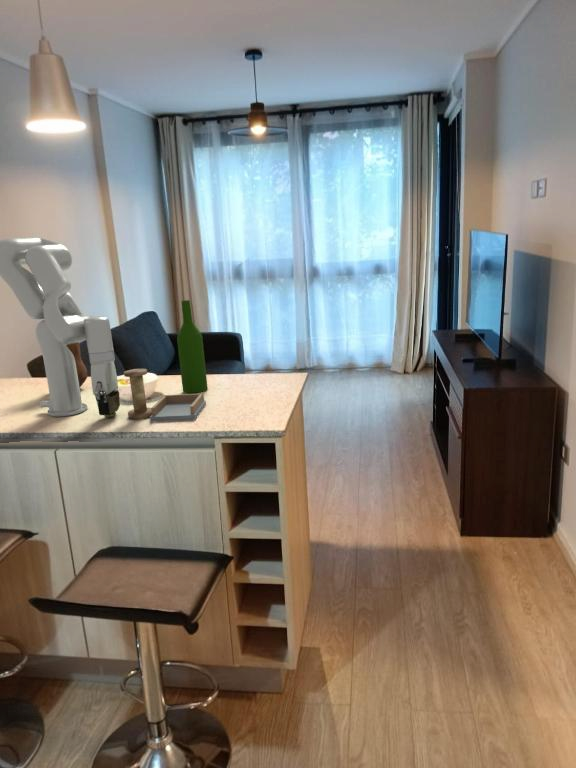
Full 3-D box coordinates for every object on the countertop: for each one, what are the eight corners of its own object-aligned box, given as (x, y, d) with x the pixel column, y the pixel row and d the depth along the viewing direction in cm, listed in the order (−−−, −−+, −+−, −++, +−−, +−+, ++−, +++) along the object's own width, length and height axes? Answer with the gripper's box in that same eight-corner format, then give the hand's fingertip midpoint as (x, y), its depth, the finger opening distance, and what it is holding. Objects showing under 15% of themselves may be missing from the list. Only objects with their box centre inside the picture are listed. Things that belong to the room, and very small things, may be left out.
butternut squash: (62, 387, 236) (51, 324, 230) (94, 385, 235) (85, 322, 229) (46, 396, 222) (34, 330, 216) (80, 394, 221) (70, 328, 215)
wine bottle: (202, 386, 221) (192, 298, 213) (211, 390, 213) (202, 299, 205) (179, 390, 216) (169, 301, 209) (188, 395, 209) (178, 302, 201)
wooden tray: (150, 421, 180) (148, 409, 180) (164, 407, 196) (163, 395, 195) (195, 419, 179) (194, 407, 178) (206, 405, 195) (204, 393, 194)
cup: (122, 418, 186) (118, 394, 184) (97, 422, 184) (94, 397, 182) (122, 412, 193) (119, 388, 191) (99, 415, 191) (95, 391, 189)
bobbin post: (124, 420, 184) (118, 374, 181) (133, 412, 192) (127, 369, 188) (149, 419, 183) (144, 373, 180) (157, 411, 191) (151, 367, 188)
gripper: (100, 352, 192) (108, 403, 197) (78, 363, 176) (87, 419, 180) (123, 351, 192) (130, 402, 196) (103, 362, 175) (111, 418, 179)
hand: (110, 410), depth 188 cm, fingers open, 8 cm apart
